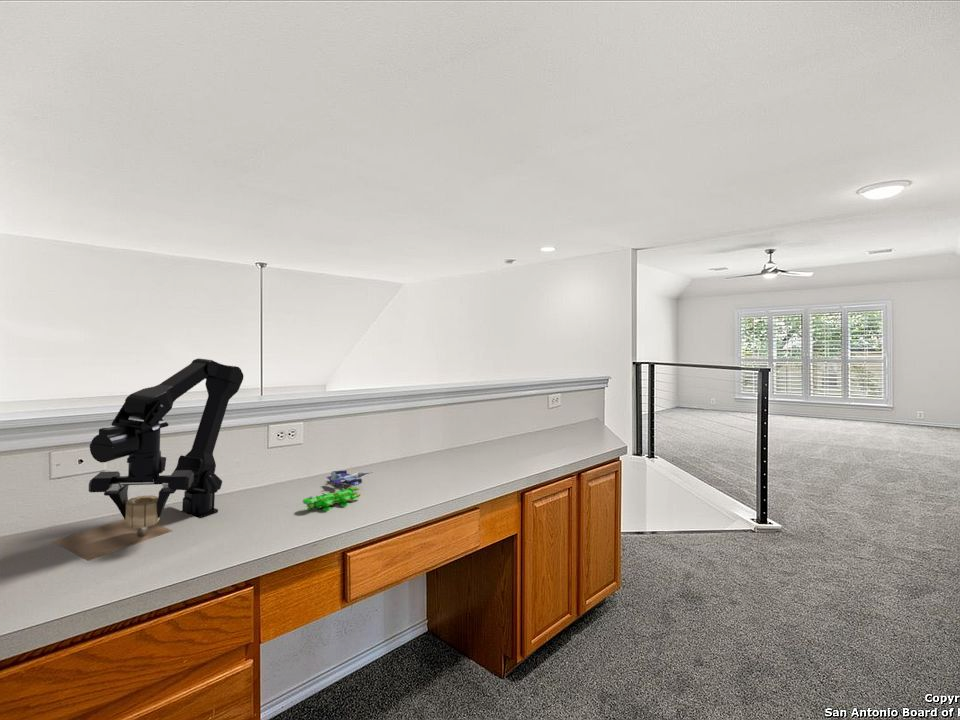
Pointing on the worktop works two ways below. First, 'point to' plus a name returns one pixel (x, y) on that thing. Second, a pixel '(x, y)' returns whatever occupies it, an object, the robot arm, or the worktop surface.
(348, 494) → the crocodile figurine
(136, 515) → the wooden octagonal holder
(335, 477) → the toy airplane
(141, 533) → the silver metal cylinder
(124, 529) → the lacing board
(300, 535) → the worktop surface
